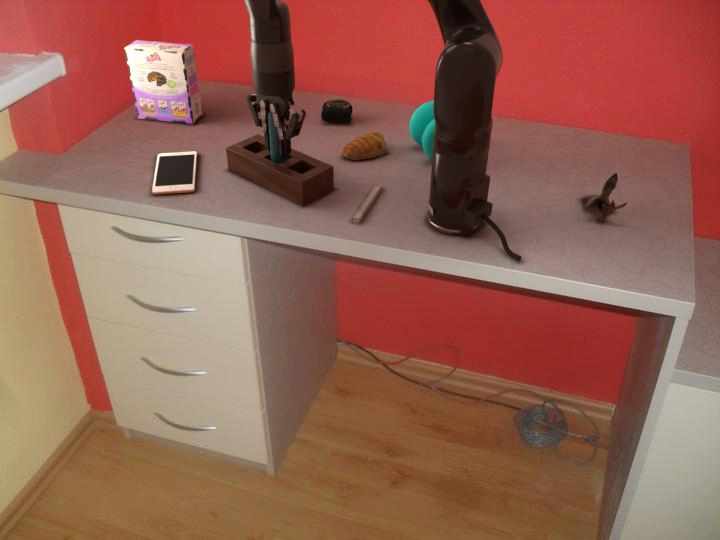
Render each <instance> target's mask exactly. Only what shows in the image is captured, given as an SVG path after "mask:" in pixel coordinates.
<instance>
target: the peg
mask: <svg viewBox="0 0 720 540" xmlns="http://www.w3.org/2000/svg"><path fill="white" fill-rule="evenodd" d="M267 112H268V126H269V139H270V153H271V161H273V162H275V163H277V164H279V163H281V162H283V161H285V160H287V156H285V157H281V156H280V153H279V134H278V129H277V127H275V125H274V119H273V114H272V113H271V112H269V111H267ZM283 120H285V119H283ZM283 120H280V122H281V121H283ZM284 131H286V128H285V126H284Z"/></svg>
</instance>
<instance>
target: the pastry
mask: <svg viewBox="0 0 720 540" xmlns="http://www.w3.org/2000/svg"><path fill="white" fill-rule="evenodd" d="M387 144H388V143H387V141H386V139H385V136H384V135H383V134H382V133H380V131H373V130H371V131H370V132H368V133H364V134H359V135H356V136H355V137H354V138H353V139H351V140H350V141H349V142H348V143H346V144H345V145H344V146H343V148H342V156H343V157H345V158H347V159H349V160H354V161H362V160H367V159H373V158H377V157H378V156H379V157H381V156H383V155H385V154H386V152H388V150H389V147H388V145H387Z"/></svg>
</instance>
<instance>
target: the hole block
mask: <svg viewBox="0 0 720 540" xmlns="http://www.w3.org/2000/svg"><path fill="white" fill-rule="evenodd" d="M225 152H226V153H225V154H226V160H227V169H228V171H229V172H231V173H232V174H235V175H236V176H239V177H241V178H243V179H245V180H246V181H248V182H251V183H253V184H255V185H257V186H259V187H262V188H264V189H266V190H268V191H270V192H272V193H274V194H276V195H278V196H281V197H283V198H284V199H287V200H289V201H291V202H293V203H294V204H296V205H299V206H301V207H305V206H306V205H308V204H310V203H312V202H314V201H316V200H317V199H319V198H321V197H323V196H325V195H327V194H328V193H331V192H332V191H334V190H335V184H334V183H335V181H334V179H335V178H334V176H335V175H334V173H335V172H334V169H335V168H334V165H332V164H330V163H327V162H325V161H322V160H320V159H317V158H315V157H313V156H310V155H308V154H305V153H303V152H301V151H298V150H296V149H294V148H292V147H291V153H290V154H289V155H288V156H287V160H285V161H283V162H281V163H279V164H277V163H275V162H273V161H271V153H270V151H268V150H266V145H265V138H264V136H263V135H261V134H258V133H257V134H255V135H252V136H250V137H248V138H245V139H243V140H241V141H239V142H236V143H234V144H232V145H229V146H227V147H225Z"/></svg>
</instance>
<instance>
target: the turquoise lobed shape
mask: <svg viewBox="0 0 720 540" xmlns="http://www.w3.org/2000/svg"><path fill="white" fill-rule="evenodd" d="M433 108H434V100H430V101H426V102H424V103H422V104H421V105H420V106H418V107H417V108H416V109H415V110H414V112H413V113H412V115H411V117H410V120H409V126H408V127H409V128H408V129H409V134H410V136H411V138H412V140H413V141H414V142H415V143H417V144H418V145H420V146H422V149H423V152H424V153H425V154H426V156H427V157H428V158H430V159H431V160H432V158H433V146H434V133H435V119H434V114H433Z"/></svg>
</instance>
